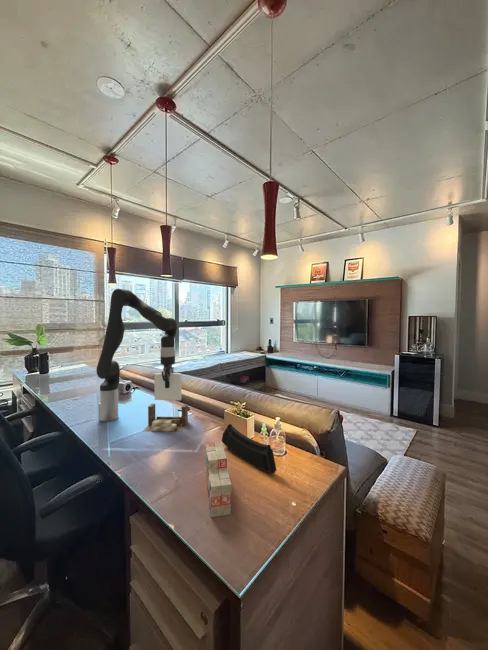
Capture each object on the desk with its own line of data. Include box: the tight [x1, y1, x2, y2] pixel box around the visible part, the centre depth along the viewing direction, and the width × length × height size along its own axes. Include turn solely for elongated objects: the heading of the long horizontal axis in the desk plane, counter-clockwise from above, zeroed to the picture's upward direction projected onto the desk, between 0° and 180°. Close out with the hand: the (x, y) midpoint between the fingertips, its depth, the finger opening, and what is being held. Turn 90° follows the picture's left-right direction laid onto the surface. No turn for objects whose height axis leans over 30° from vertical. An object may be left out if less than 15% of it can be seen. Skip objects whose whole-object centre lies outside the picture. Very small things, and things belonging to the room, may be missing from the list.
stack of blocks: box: [205, 441, 232, 518], centre depth 89 cm, size 21×6×12 cm, turn 12°
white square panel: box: [153, 372, 182, 401], centre depth 144 cm, size 14×2×14 cm, turn 88°
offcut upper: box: [152, 420, 172, 427], centre depth 138 cm, size 9×4×2 cm, turn 88°
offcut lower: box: [150, 424, 177, 432], centre depth 138 cm, size 12×4×2 cm, turn 88°
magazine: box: [221, 423, 277, 474], centre depth 110 cm, size 17×3×30 cm
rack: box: [142, 403, 189, 433], centre depth 141 cm, size 20×14×11 cm
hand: (167, 387), depth 144 cm, fingers closed on white square panel, 2 cm apart
